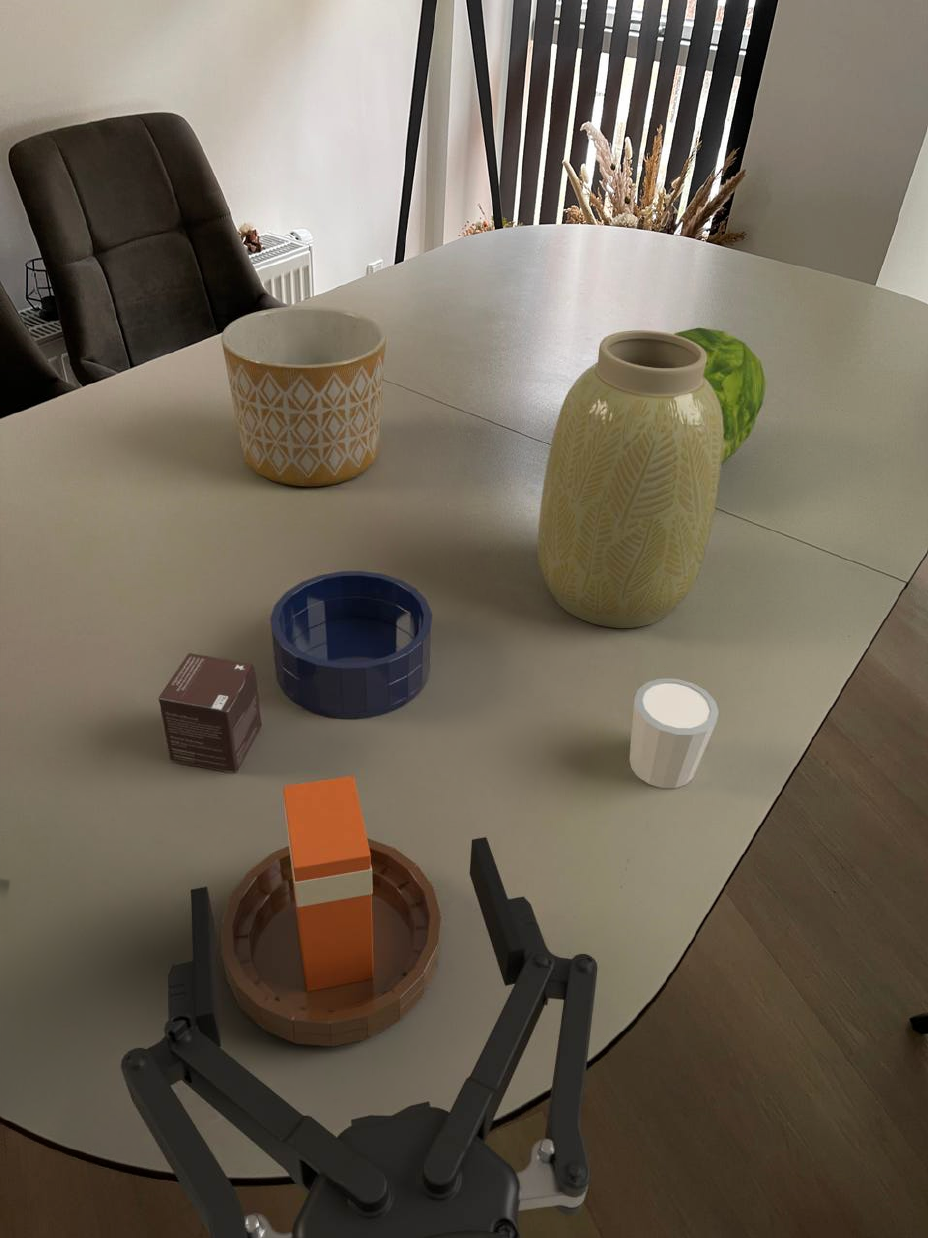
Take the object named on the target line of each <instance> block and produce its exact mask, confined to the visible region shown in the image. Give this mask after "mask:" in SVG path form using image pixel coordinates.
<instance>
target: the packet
mask: <svg viewBox="0 0 928 1238" xmlns="http://www.w3.org/2000/svg"><path fill="white" fill-rule="evenodd" d="M355 780H356V778H355V776H354V775H349V776H342V777H336V778H330V779H329V778H328V779H324V780H316V781H310V782H309V781H308V782H303V783H297V784H289V785H284V786H283V787H282V789H283V806H284V807H283V808H284V817H285V818H284V819H285V826H286V827H285V828H286V835H287V843H288V846H289V850H290V858H291V868H292V877H293V887H294V896H295V906H296V915H297V922H298V930H299V938H300V946H301V954H302V961H303V969H304V977H305V985H306V991H307V992H309V991H314V990H319V989H324V988H329V987H334V986H339V985H344V984H349V983H354V982H359V981H365V980H370V979H373V978H374V974H373V932H372V893H373V890H372V867H371V854H370V850H369V845H368V840H367V838H368V837H367V831H366V827H365V822H364V821H365V820H364V817H363V816H364V815H363V811H362V808H361V803H360V797H359V793H358V789H357V783H356V781H355Z"/></svg>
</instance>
